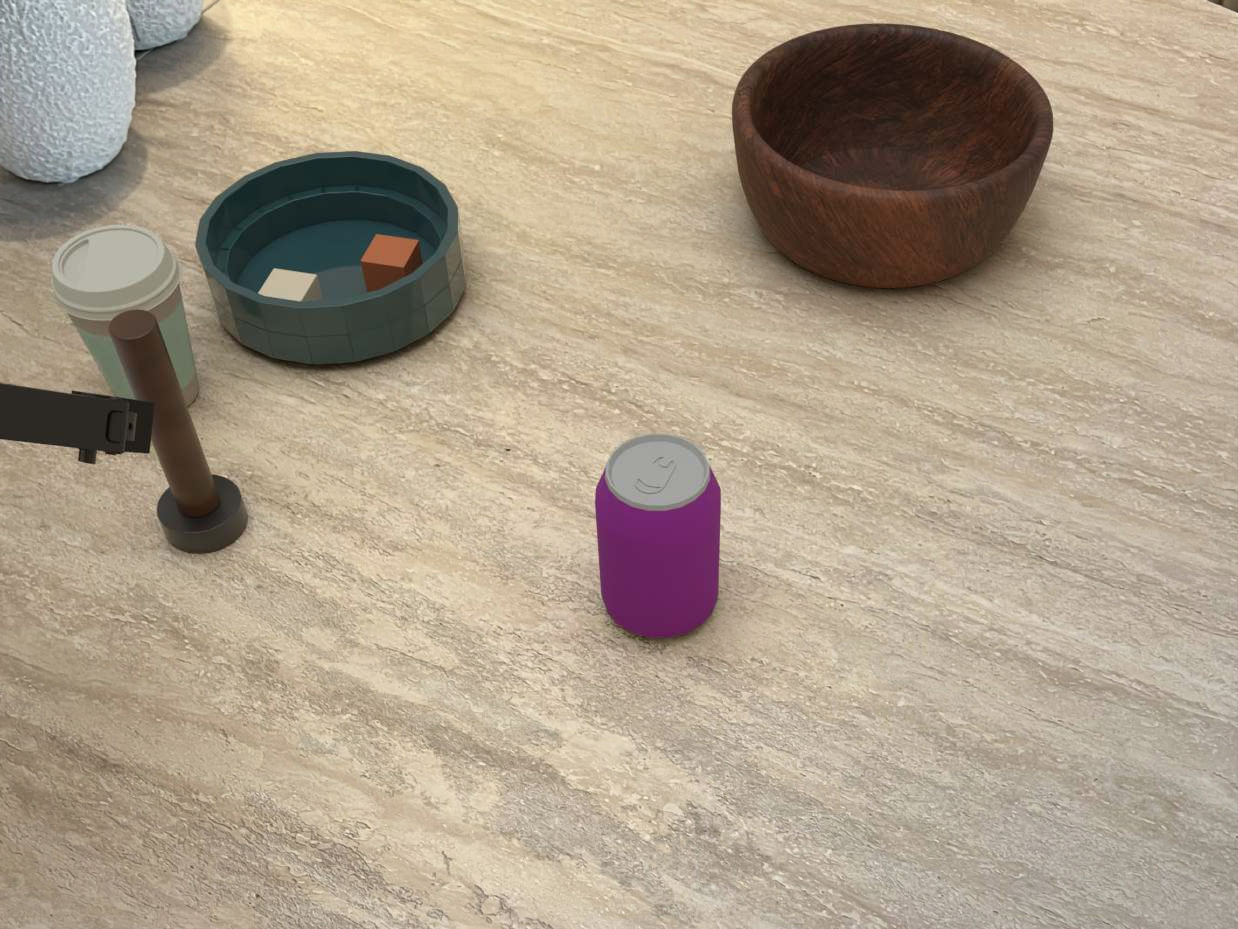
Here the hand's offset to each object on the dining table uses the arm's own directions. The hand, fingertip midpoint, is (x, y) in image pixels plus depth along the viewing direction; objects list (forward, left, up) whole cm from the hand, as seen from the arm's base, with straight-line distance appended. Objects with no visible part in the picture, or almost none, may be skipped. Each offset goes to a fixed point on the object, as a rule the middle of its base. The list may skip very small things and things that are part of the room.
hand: (28, 407), depth 78 cm
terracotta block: (+5, +37, -19) cm, 42 cm away
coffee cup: (-9, +22, -20) cm, 31 cm away
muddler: (0, +11, -20) cm, 22 cm away
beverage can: (+32, +11, -20) cm, 39 cm away
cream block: (-2, +31, -19) cm, 36 cm away
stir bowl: (0, +37, -20) cm, 42 cm away
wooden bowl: (+40, +56, -20) cm, 71 cm away
